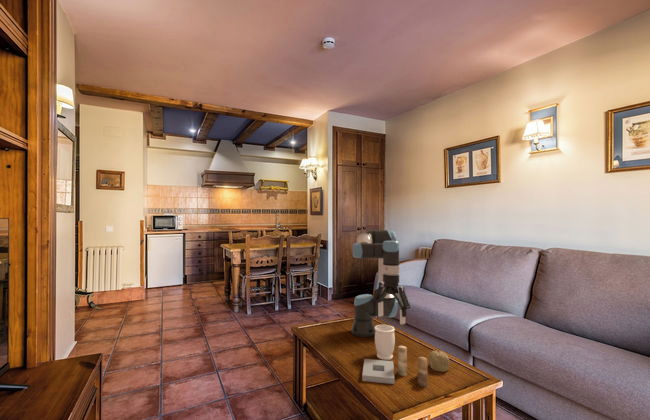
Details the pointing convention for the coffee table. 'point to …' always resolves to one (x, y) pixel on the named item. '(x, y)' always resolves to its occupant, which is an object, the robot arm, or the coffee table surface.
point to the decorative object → (439, 361)
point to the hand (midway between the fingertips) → (391, 319)
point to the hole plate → (379, 376)
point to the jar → (384, 341)
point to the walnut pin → (422, 378)
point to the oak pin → (422, 364)
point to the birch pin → (402, 360)
